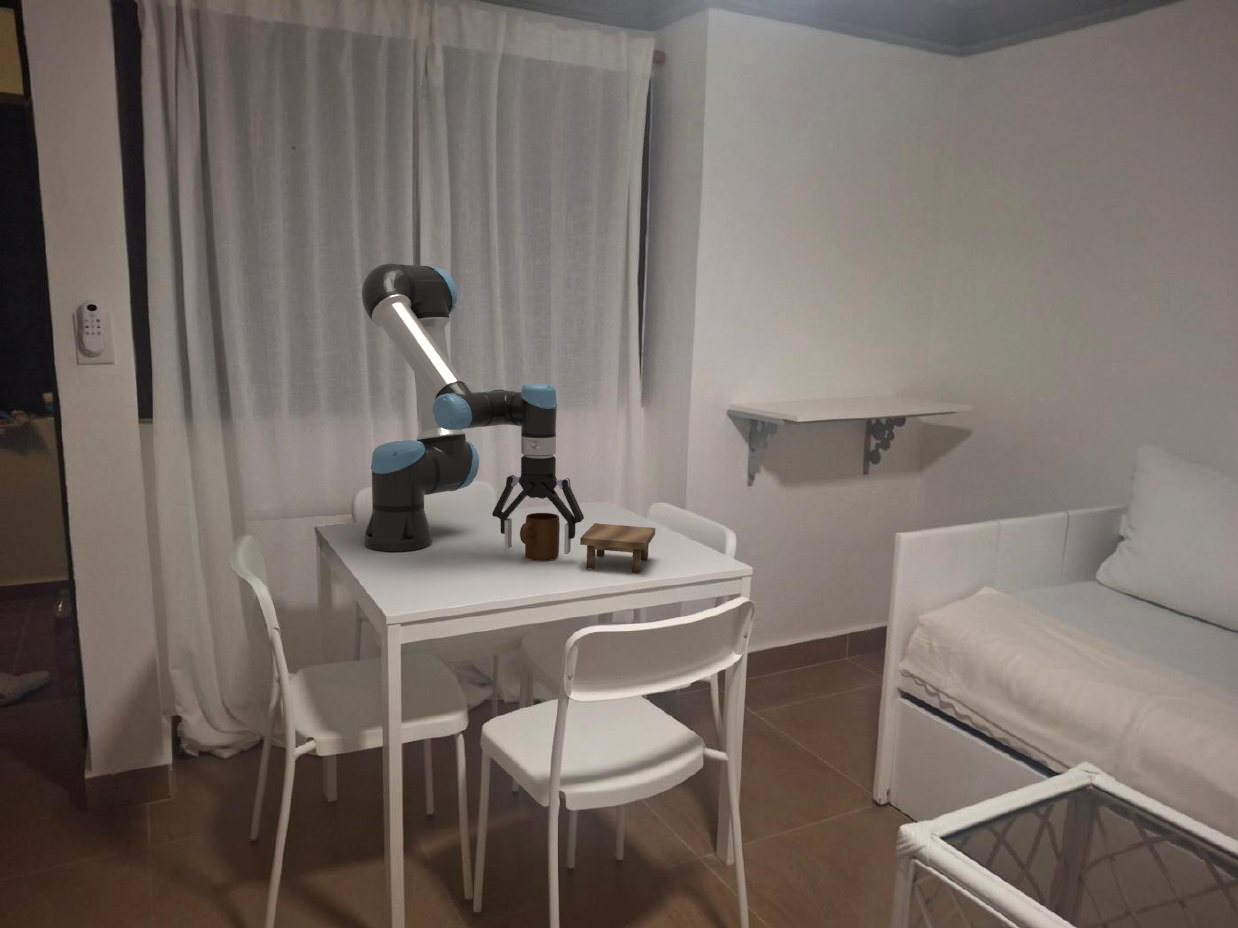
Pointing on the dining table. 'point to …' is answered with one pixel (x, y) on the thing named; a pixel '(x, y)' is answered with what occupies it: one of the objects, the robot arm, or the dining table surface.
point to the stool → (617, 542)
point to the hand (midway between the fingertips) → (537, 550)
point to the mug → (541, 536)
